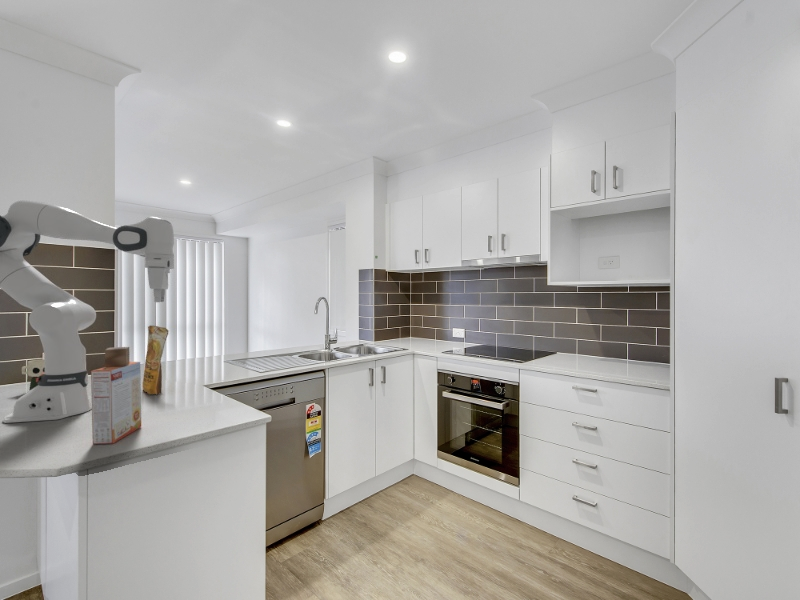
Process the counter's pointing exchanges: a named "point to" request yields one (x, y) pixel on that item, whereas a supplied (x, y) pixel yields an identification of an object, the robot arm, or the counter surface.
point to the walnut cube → (117, 356)
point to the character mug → (34, 371)
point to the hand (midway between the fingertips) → (159, 302)
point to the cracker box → (115, 402)
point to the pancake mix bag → (154, 359)
